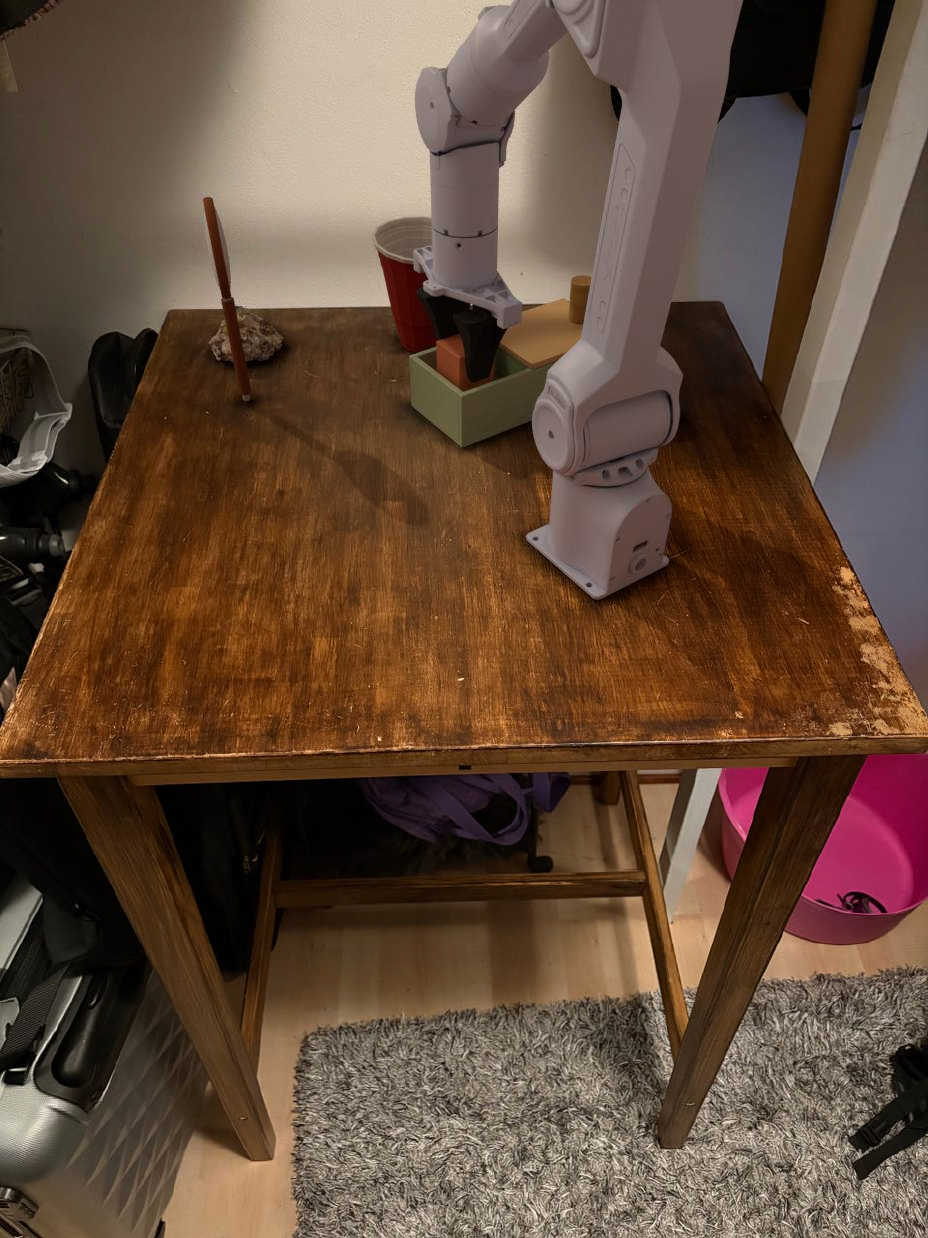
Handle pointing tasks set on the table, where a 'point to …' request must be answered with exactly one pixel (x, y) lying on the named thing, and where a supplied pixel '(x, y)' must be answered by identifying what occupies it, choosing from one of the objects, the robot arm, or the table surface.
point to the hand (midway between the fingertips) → (465, 367)
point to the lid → (549, 328)
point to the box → (476, 397)
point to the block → (456, 364)
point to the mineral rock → (248, 338)
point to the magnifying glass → (225, 291)
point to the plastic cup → (406, 278)
